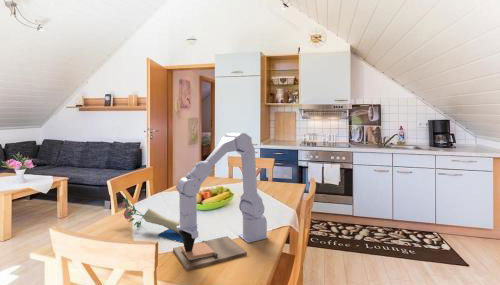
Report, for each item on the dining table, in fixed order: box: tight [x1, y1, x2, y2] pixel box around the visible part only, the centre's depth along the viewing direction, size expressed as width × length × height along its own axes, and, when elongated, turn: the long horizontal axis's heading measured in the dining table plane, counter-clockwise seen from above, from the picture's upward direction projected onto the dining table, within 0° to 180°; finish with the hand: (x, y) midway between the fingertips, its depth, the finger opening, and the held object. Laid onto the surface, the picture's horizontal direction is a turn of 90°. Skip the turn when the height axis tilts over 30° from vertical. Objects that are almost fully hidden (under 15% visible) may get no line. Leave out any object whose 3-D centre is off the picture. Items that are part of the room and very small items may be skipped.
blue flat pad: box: [158, 228, 183, 243], centre depth 118 cm, size 7×1×15 cm
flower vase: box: [121, 195, 180, 235], centre depth 125 cm, size 12×12×35 cm
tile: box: [180, 242, 214, 260], centre depth 101 cm, size 9×9×1 cm
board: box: [172, 235, 248, 272], centre depth 104 cm, size 22×16×2 cm
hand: (188, 250), depth 100 cm, fingers closed, pressing on tile
